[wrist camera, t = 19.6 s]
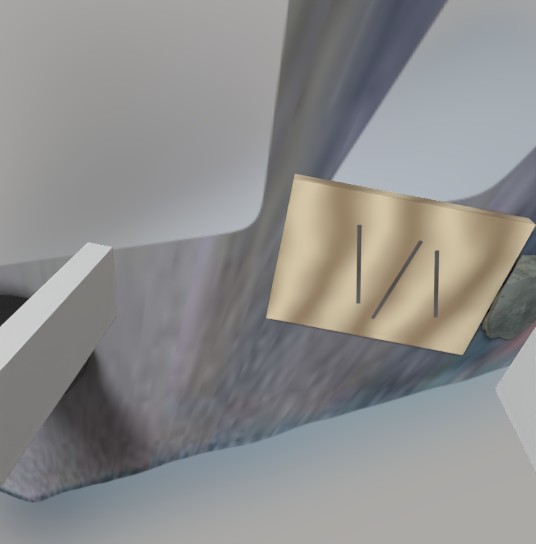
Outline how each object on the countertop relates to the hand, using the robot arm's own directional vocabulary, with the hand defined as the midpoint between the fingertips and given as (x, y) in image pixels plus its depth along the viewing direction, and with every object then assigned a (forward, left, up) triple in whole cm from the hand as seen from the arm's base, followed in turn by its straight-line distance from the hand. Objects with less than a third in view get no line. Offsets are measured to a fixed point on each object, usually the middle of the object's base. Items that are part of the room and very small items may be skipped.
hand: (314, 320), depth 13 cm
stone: (+18, -13, -21) cm, 30 cm away
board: (+10, -12, -27) cm, 31 cm away
